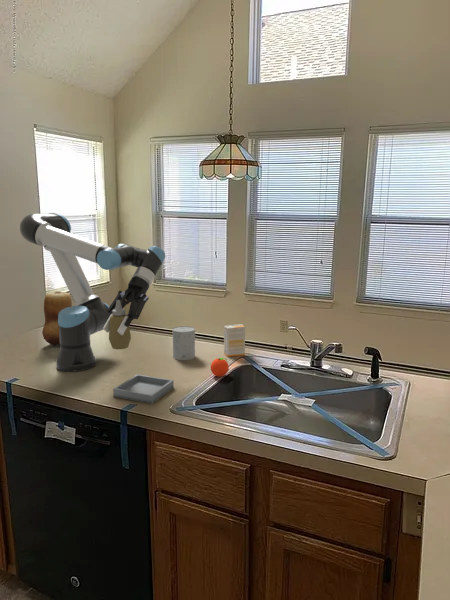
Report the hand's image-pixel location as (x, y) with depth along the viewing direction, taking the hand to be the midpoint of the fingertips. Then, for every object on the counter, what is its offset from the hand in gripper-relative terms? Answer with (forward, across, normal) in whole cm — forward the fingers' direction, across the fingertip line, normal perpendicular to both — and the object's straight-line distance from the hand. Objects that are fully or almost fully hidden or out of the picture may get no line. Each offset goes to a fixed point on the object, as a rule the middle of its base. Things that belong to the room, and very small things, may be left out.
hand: (112, 331), depth 167 cm
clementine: (-4, -30, -31) cm, 44 cm away
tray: (+15, -16, -11) cm, 25 cm away
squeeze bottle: (+3, 0, -8) cm, 8 cm away
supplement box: (-22, -22, -49) cm, 58 cm away
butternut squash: (0, +54, -27) cm, 60 cm away
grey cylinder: (-12, -5, -39) cm, 41 cm away
